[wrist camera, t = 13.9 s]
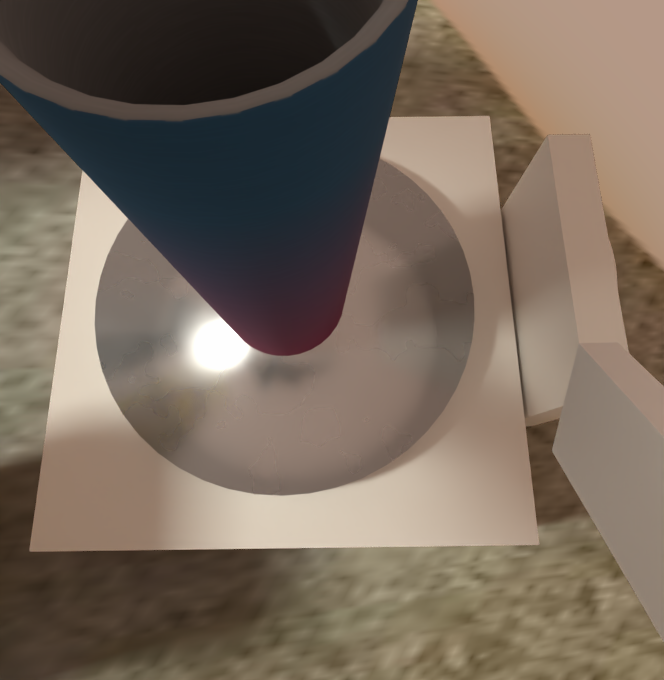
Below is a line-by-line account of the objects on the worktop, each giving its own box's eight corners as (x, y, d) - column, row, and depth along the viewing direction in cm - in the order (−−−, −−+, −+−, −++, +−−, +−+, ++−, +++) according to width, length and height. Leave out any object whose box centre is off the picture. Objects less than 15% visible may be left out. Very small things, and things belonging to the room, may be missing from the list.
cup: (398, 290, 21) (534, -111, 7) (290, 412, 20) (179, 227, 6) (279, 198, 23) (184, -307, 8) (170, 306, 21) (-178, -70, 7)
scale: (78, 540, 24) (-69, 574, 15) (121, 168, 29) (31, 34, 20) (557, 533, 24) (688, 564, 15) (511, 163, 29) (587, 28, 20)
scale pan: (83, 497, 20) (71, 498, 19) (124, 152, 24) (115, 138, 23) (484, 492, 20) (492, 492, 19) (453, 148, 24) (458, 134, 23)
